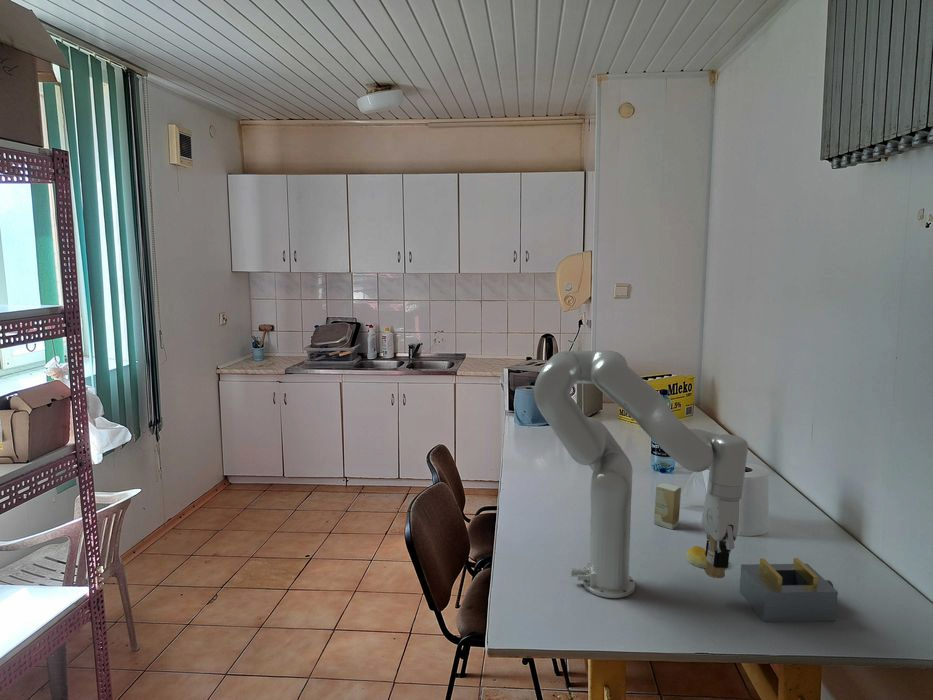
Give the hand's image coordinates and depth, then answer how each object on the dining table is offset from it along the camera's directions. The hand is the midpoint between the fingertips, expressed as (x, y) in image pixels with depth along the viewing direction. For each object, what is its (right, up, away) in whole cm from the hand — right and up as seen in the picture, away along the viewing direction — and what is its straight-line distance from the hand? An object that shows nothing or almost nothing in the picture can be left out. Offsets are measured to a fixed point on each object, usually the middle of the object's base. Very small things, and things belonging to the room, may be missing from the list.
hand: (716, 561), depth 155 cm
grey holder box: (+15, -10, -2) cm, 18 cm away
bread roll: (+5, -7, +20) cm, 22 cm away
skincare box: (+1, -3, +43) cm, 43 cm away
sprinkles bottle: (0, -4, +1) cm, 4 cm away
